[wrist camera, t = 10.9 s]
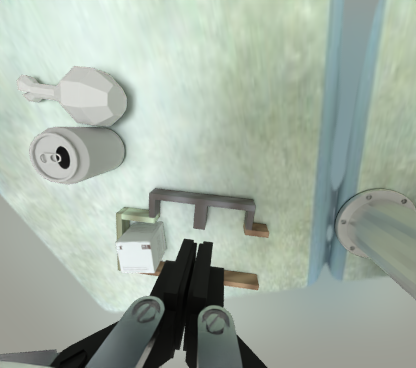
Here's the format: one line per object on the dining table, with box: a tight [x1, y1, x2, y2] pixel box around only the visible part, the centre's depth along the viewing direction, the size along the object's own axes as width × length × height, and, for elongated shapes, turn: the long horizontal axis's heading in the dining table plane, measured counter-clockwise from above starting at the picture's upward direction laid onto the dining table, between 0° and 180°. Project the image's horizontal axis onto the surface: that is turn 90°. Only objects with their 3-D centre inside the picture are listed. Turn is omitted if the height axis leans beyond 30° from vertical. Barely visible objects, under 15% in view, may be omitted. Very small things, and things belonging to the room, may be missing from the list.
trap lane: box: [116, 188, 269, 290], centre depth 38 cm, size 27×16×3 cm, turn 85°
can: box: [29, 127, 125, 184], centre depth 31 cm, size 8×8×12 cm
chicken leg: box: [17, 66, 127, 126], centre depth 32 cm, size 8×18×8 cm, turn 82°
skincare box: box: [115, 222, 166, 273], centre depth 37 cm, size 6×6×7 cm
